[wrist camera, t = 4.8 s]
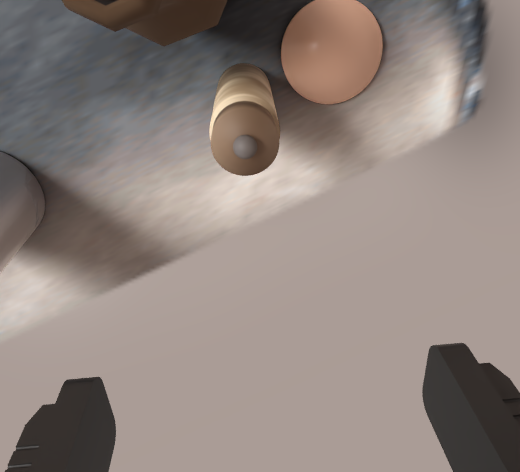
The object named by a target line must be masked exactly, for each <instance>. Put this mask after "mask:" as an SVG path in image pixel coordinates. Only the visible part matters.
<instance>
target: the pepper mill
mask: <svg viewBox="0 0 520 472" xmlns="http://www.w3.org/2000/svg"><path fill="white" fill-rule="evenodd" d="M209 134H210V140H211V149H212V153H213V155H214V157H215V159H216V161H217V162H218V163H219V165H220V166H221V167H223V168H224V169H225V170H227V171H229V172H231V173H233V174H236V175H242V176H248V175H254V174H257V173H260V172H262V171H263V170H265V169H266V168H268V167H269V166H270V165H271V164H272V162H273V161H274V159H275V158H276V156H277V153H278V149H279V138H280V126H279V122H278V117H277V113H276V109H275V104H274V100H273V96H272V92H271V87H270V83H269V80H268V78H267V76H266V75H265V73H264V72H263V71H262V70H261V69H259V68H258V67H256V66H254V65H251V64H247V63H240V64H236V65H233V66H231V67H229V68H228V69H227V70H226V71H225V72H224V73H223V74H222V76H221V77H220V80H219V82H218V87H217V92H216V97H215V102H214V107H213V112H212V118H211V123H210V129H209Z"/></svg>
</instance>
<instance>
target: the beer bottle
mask: <svg viewBox="0 0 520 472" xmlns="http://www.w3.org/2000/svg"><path fill="white" fill-rule="evenodd" d="M62 1H63V3H64V5H65V7H67V8H68V9H69V10H71V11H73V12H75V13H77V14H79V15H81V16H83V17H85V18H87V19H89V20H92V21H94V22H96V23H98V24H100V25H102V26H104V27H106V28H108V29H110V30H113V31H115V32H116V31H118V30H121V29H123V28H127V29H129V30H131V31H133V32H135V33H137V34H139V35H141V36H143V37H145V38H147V39H149V40H152V41H154V42H156V43H158V44H160V45H162V46H166V45H169V44H171V43H174V42H176V41H179V40H181V39H184V38H186V37H189V36H191V35H194V34H196V33H199V32H201V31H204V30H207V29H209V28H212V27H214V26H216V25H218V23H219V20H220V18H221V15H222V13H223V10H224V8H225V5H226V3H227V0H62Z"/></svg>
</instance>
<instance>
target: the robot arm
mask: <svg viewBox="0 0 520 472" xmlns="http://www.w3.org/2000/svg"><path fill="white" fill-rule="evenodd" d="M44 212H45V199H44V194H43V191H42V189H41V186H40V184H39V183H38V181H37V179H36V178H35V176H34V175H33V174H32V173H31V172H30V171H29V169H28V168H27V167H26V166H24V165H23V164H22V163H20V162H19V161H18V160H17V159H15V158H13V157H11V156H9V155H8V154H6V153H3V152H0V274H1V272H2V271H3V270H4V269H5V267H6V266H7V265H8V264H9V262H10V261H11V260H12V258H13V257H14V256H15V255H16V253H17V252H18V251H19V250H20V248H21V247H22V246H23V245H24V243H25V242H26V241H27V239H28V238H29V237H30V236H31V234H32V233H33V232H34V230H35V229H36V228H37V226H38V225H39V224H40V222H41V221H42V218H43V216H44ZM423 402H424V406H425V410H426V413H427V415H428V417H429V420H430V422H431V424H432V426H433V428H434V431H435V433H436V435H437V437H438V439H439V442H440V444H441V446H442V448H443V450H444V453H445V455H446V457H447V459H448V461H449V464H450V466H451V468H452V470H453V472H520V393H519V391H518V390H517V388H516V387H515V386H514V384H513V383H512V381H511V380H510V378H508V377H507V376H506V375H504V374H503V373H502V372H501V371H499V370H498V369H497V368H495V367H494V366H493V365H492V364H490V363H482V364H479V363H478V362H477V360H476V359H475V357H474V356H473V354H472V352H471V351H470V349H469V348H468V347H467V346H466V345H465V344H464V343H455V344H444V345H433V346H431V347H430V349H429V353H428V359H427V366H426V371H425V378H424V383H423ZM115 437H116V426H115V419H114V415H113V413H112V409H111V406H110V403H109V400H108V397H107V394H106V391H105V387H104V384H103V382H102V379H101V378H100V377H92V378H81V379H70V380H66V381H65V382H64V384H63V386H62V388H61V391H60V393H59V396H58V398H57V401H56V403H55V404H50V405H43V406H42V407H41V408H40V409H39V410H38V411H37V412H36V414H35V415H34V416H33V417H32V418H31V419H30V420H29V422H28V423H27V424H26V425H25V427H24V430H23V432H22V434H21V437H20V439H19V441H18V443H17V446H16V451H14V452H13V455H12V457H11V459H10V461H9V464H8V469H7V470H5V472H108V471H109V467H110V462H111V458H112V454H113V450H114V445H115Z"/></svg>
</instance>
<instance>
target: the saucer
mask: <svg viewBox="0 0 520 472" xmlns="http://www.w3.org/2000/svg"><path fill="white" fill-rule="evenodd" d="M382 49H383V42H382V35H381V30H380V27H379V24H378V22H377V20H376V19H375V17H374V16H373V14H372V13H371V12H370V11H369V10H368V8H366V7H365V6H364V5H363V4H361V3H360V2H358V1H356V0H314V1H312V2H310V3H308V4H307V5H305V6H304V7H303V8H301V9H300V10H299V11H298V12H297V13H296V15H295V16H294V17H293V18H292V20H291V21H290V23H289V24H288V26H287V28H286V31H285V33H284V36H283V40H282V45H281V61H282V67H283V70H284V73H285V75H286V77H287V80H288V81H289V83H290V85H291V86H292V87H293V88H294V90H295V91H296V92H298V93H299V94H300V95H301V96H303V97H304V98H306V99H308V100H310V101H313V102H316V103H321V104H335V103H340V102H343V101H346V100H348V99H351V98H353V97H354V96H356V95H357V94H359V93H360V92H361V91H362V90H363V89H364V88H365V87H366V86H367V85H368V84H369V83H370V82H371V80H372V79H373V77H374V75H375V74H376V72H377V70H378V67H379V64H380V61H381V57H382Z"/></svg>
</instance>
